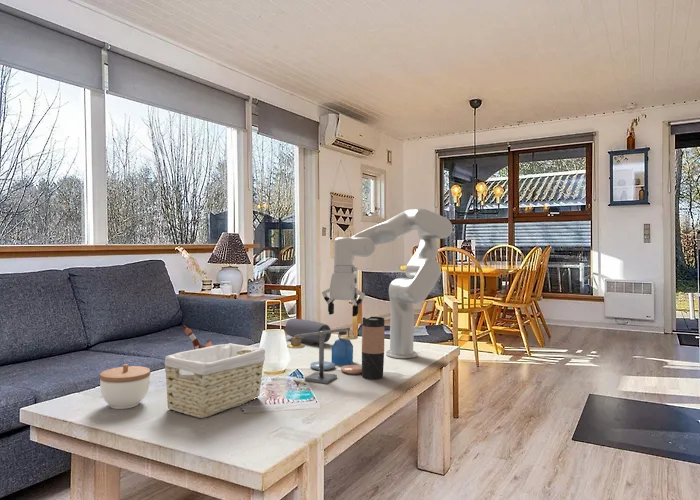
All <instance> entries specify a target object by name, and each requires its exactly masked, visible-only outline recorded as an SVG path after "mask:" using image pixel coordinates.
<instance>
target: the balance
mask: <svg viewBox="0 0 700 500" xmlns="http://www.w3.org/2000/svg"><path fill="white" fill-rule="evenodd" d="M340 331H347V335H340V336H339V337H338V339H339V338H340V339H347V340H350V341H351V340H352V341H353V340H357V339H358V338H359V336H358V335H356V334H350V331H351V327H350V326H348V327H343V328H335V329H331V330H327V331H320V332H313V333H306V334H299V335H295V337H290V343H288V344H286V347H287V348H288V349H295V350H296V349H303V348H305V346H306V344H304V343H302V342H301V337H305V336H312V335H319V344H318V362H319V370H318V372H317V371H315V372H313V373H311V374H309V375H308V376H305V377H304V381H305V380H307V381H306V382H310V383H311V382H312V383H319V384H325V385H326V384H329V383H331V382H332V381H334V380H336V379H337V378H338V375H337V374H334V373H327V372H326V373H325V372H324V371H325V370H324V361H325V360H324V359H325V354H324V353H325V343H324V336H325V334H326V333H331V334H332V333H339V332H340Z"/></svg>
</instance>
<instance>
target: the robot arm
mask: <svg viewBox="0 0 700 500" xmlns="http://www.w3.org/2000/svg"><path fill="white" fill-rule="evenodd" d="M414 230H415V231H417V234H418V238H419V245H418V247H417V249H416V251H415V252H414V253H413V254H412V256H411V258H410V259H409V261H408V262H407V263H406V266H405V269H404V272H405V273H404V274H405V276H406V277H397V278H395V279H393V280H392V281H391V282H390V283H389V287H388V297H389V303H390V323H389V324H390V325H389V326H390V327H389V330H390V331H389V332H390V333H389V336H390V337H389V338H390V339H389V350H387V351H385V354H386V356H387V357H389V358H393V359H394V358H395V359H413V358H417V356H418V353H417V352H416V351H414V334H415V331H414V329H415V311H414V310H415V309H414V306H413V304H414V305H415V304H417V305H418V304H421V303H423V302H424V301H425V300H426V299H427V298H428V296H429V294H430V293H431V291H432V290H433V288H434V287H435V286H436V284H437V282H438V280H440V279H439V278H440V276H441V270H442V269H441V265H440V263H439V262H438V261H437V260H436V258H437V256H438V255H439V254H438V253H439V245H438V242H437V239H438V240H439V239H441V240H442V239H446V238H449V237H450V235H451V234H453V233H452V232H453V224H452V222H451V221H450V220H449V219H448V218H447V217H445V216H442V215H440V214H438V213H435V212H433V211H431V210H428V209H426V208H422V207H421V208H409V209H406V210H404V211H402V212H399V213H398V214H397V215H395V216H394V215H393V217H391V218H389V219H387V220H386V221H383V222H381V223H379V224H376V225H374V226H371V227H369V228H366V229H364V230H362V231H359V232H358V233H356V234H354V235H352V236H350V237H341V236H339V237H336V238H335V239H334V241H333V242H334V244H333V245H334V248H333V250H334V251H333V273H332V274H331V277H330V284H329V288H328V289H326V290H324V291H322V292H321V294H322V297H323V299H324V301H325V302H326V304H327V305H328V306H327V312H328V315H329V316H330V315H334V313H335V303H334V301H338V300H339V301H351V303H352V304H353V305H352V314H351V315H352V317H357V316H358V314H359V305H360V304H361V303H363V301H364V299H365V297H366V293H364V292H362V291H360V289H358V277H357V274H356V273H355V272H357V271H358V267H356V266H355V257H361V258H367V257H370V256H372V255H373V254H374V253H375V251H376V246H377V245H382V244H388V243H391V242H394V241H396V240H398V239H399V238H401V237H403V236H404V235H407V234H409V233H410V232H411V231H414ZM328 294H329V296H328ZM358 296H360V297H358Z"/></svg>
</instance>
